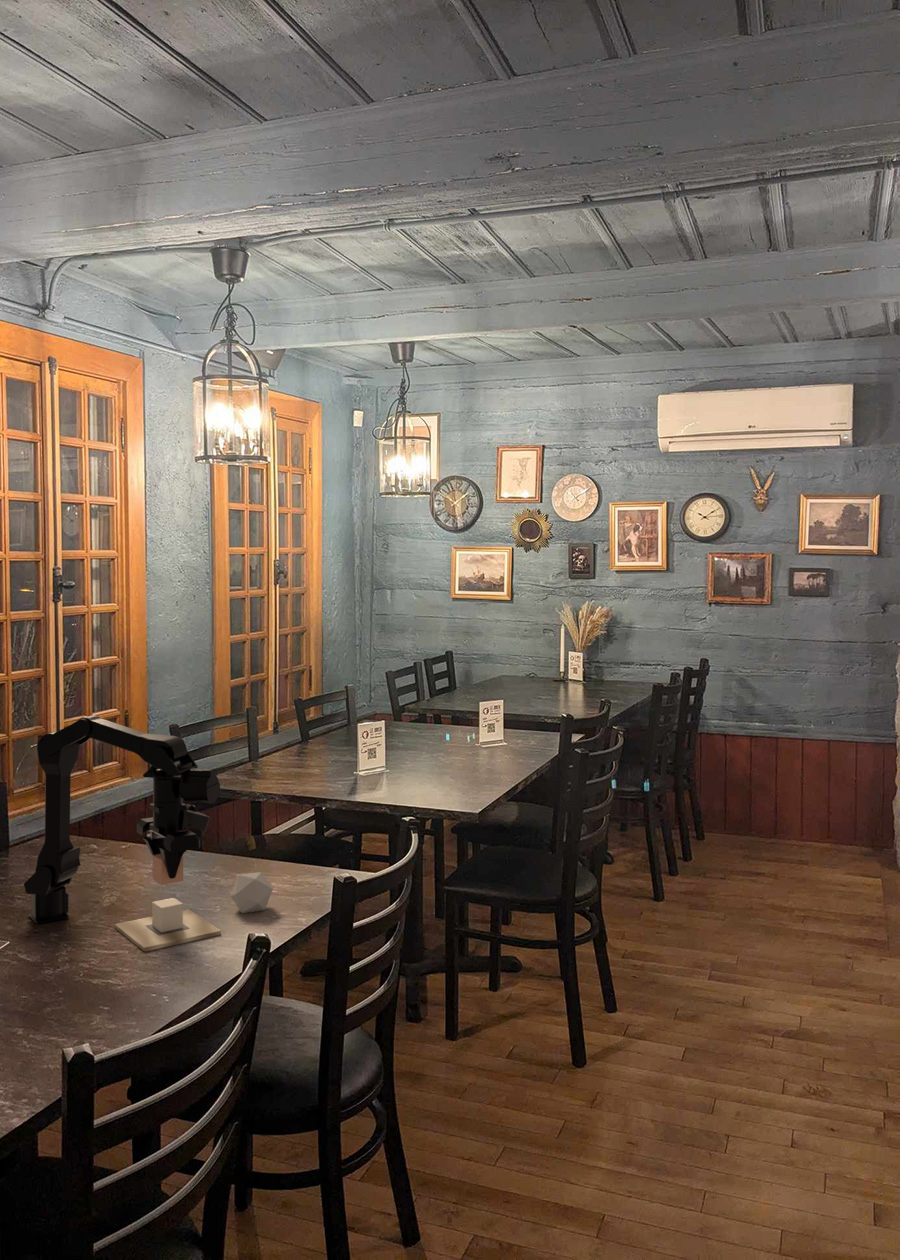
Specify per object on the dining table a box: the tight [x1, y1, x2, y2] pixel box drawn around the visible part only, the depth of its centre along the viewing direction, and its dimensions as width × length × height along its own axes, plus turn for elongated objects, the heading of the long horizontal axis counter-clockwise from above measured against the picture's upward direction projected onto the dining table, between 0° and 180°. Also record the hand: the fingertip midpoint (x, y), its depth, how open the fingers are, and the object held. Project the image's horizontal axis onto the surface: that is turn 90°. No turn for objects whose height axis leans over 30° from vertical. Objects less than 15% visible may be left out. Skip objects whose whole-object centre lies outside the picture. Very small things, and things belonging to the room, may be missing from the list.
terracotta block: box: [152, 854, 184, 886], centre depth 206 cm, size 5×5×5 cm
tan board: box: [114, 908, 222, 952], centre depth 206 cm, size 16×16×1 cm
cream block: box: [151, 897, 184, 932], centre depth 206 cm, size 5×5×5 cm
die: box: [229, 871, 274, 914], centre depth 220 cm, size 8×9×10 cm
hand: (167, 875), depth 206 cm, fingers closed on terracotta block, 5 cm apart
